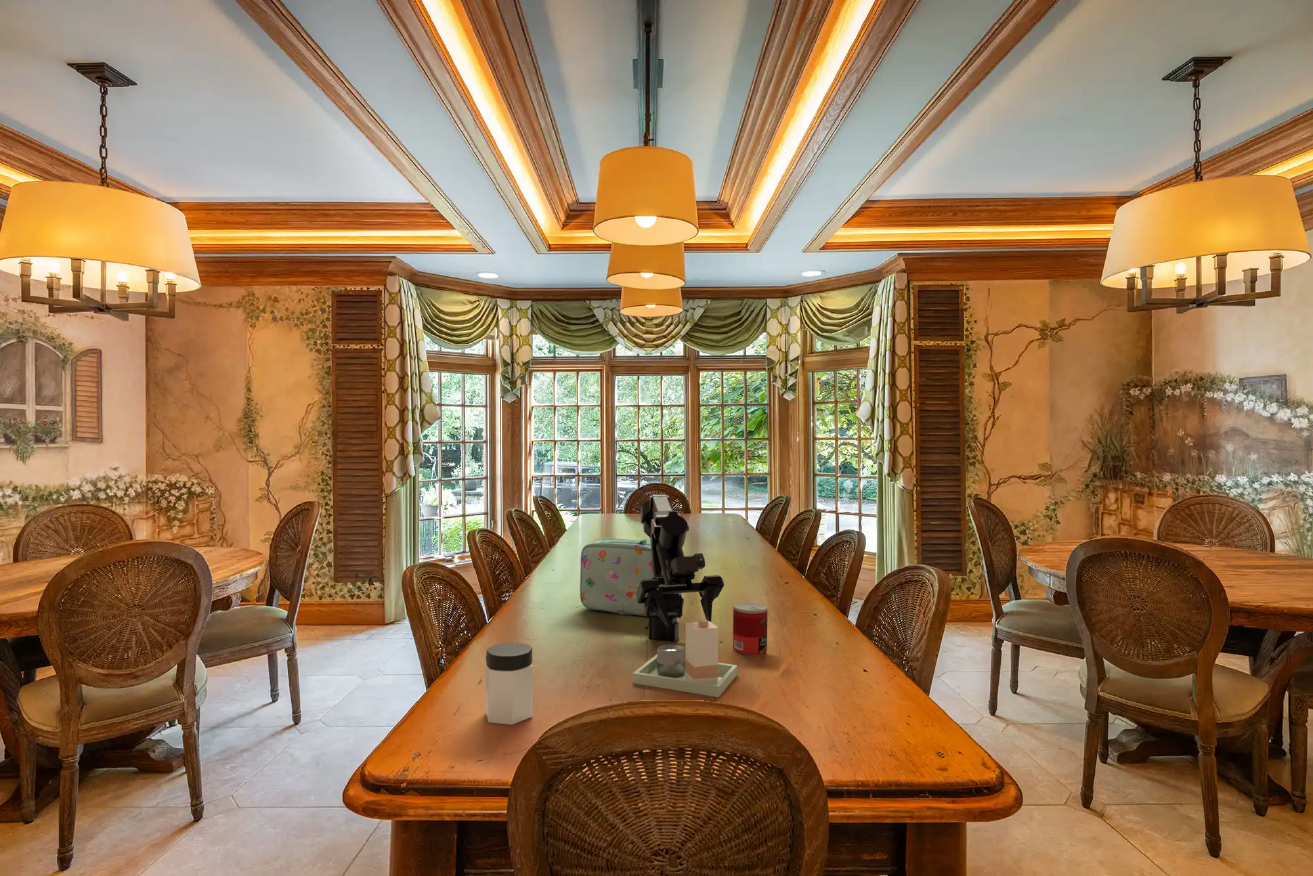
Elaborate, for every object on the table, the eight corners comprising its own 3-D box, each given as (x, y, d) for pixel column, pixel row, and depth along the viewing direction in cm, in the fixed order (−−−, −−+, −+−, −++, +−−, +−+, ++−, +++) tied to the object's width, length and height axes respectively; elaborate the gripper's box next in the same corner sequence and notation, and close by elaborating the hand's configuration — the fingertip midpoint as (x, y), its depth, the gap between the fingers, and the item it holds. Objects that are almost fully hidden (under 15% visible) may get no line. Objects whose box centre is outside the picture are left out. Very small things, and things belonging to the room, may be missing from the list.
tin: (652, 675, 141) (652, 651, 141) (663, 666, 147) (663, 643, 147) (679, 679, 139) (679, 655, 139) (689, 670, 144) (689, 647, 144)
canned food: (766, 659, 155) (766, 611, 155) (731, 657, 156) (731, 609, 156) (767, 649, 162) (768, 603, 162) (734, 646, 164) (734, 601, 164)
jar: (514, 702, 129) (515, 638, 129) (542, 713, 124) (543, 648, 124) (474, 716, 122) (474, 650, 122) (502, 729, 117) (503, 660, 117)
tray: (632, 688, 137) (632, 673, 137) (657, 667, 149) (657, 653, 149) (718, 702, 130) (718, 686, 130) (737, 679, 142) (737, 665, 142)
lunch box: (676, 611, 196) (677, 537, 196) (665, 620, 186) (665, 542, 186) (591, 602, 205) (592, 531, 205) (576, 611, 195) (577, 536, 195)
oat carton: (685, 682, 138) (685, 617, 138) (708, 679, 139) (708, 616, 139) (693, 691, 133) (694, 624, 133) (717, 688, 134) (718, 622, 134)
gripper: (640, 542, 145) (655, 607, 134) (721, 538, 150) (742, 601, 140) (630, 571, 152) (643, 635, 142) (707, 567, 158) (726, 628, 148)
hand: (689, 624), depth 143 cm, fingers open, 9 cm apart
